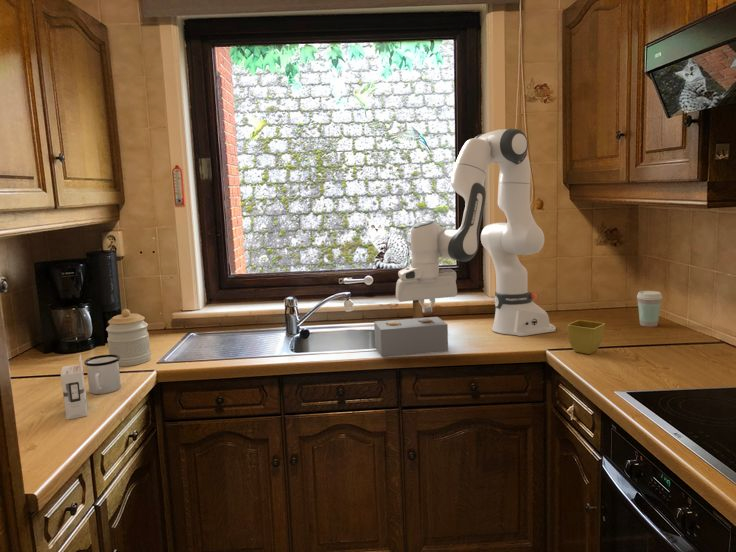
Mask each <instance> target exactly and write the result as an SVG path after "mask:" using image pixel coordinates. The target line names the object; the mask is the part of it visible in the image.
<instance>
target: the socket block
mask: <svg viewBox="0 0 736 552" xmlns="http://www.w3.org/2000/svg"><path fill="white" fill-rule="evenodd" d="M423 319H431V320H432V323H425V324H421V323H420V320H423ZM389 322H400V326H388V323H389ZM373 323H374V345H375V346H374V347H375V349H376V351H377V353H378V354H379V355H380V357H381V358H387V357H397V356H398V357H399V356H409V355H422V354H432V353H433V354H436V353H443V352H444V353H448V352H449V331H448V329H449V328H448V327H449V326H448V323H446V322H445V321H443V319H441V318H440V317H438V316H430V317H424V318H415V319H413V318H403V319H391V320H389V319H388V320H377V321H373Z"/></svg>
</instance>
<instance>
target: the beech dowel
mask: <svg viewBox="0 0 736 552" xmlns="http://www.w3.org/2000/svg"><path fill="white" fill-rule="evenodd" d="M388 326H400V322H389V323H388Z"/></svg>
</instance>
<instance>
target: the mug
mask: <svg viewBox="0 0 736 552" xmlns="http://www.w3.org/2000/svg"><path fill="white" fill-rule="evenodd" d="M119 360H120V356H118V355H109V354H102V355H101V354H100V355H96V356H92V357H89V358H87V359H85V360H84V361H83V364H84V365H85V366H86V372H87V381H88V390H89V393H91V394H93V395H105V394H110V393H113V392H116V391H117V390H120V388H121V387H122V383H121V375H120V366H119V363H118V361H119Z"/></svg>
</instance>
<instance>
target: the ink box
mask: <svg viewBox="0 0 736 552" xmlns="http://www.w3.org/2000/svg"><path fill="white" fill-rule="evenodd" d="M81 353H82V352H81ZM81 353H79V358H78V360H79V361H78V362H79V364H71V365H65V366H62V367H61V371H60V381H61V387H62V395H63V402H64V403H63V404H64V411H65V418H66V419H65V420H67V421H68V420H72V419H78V418H79V419H80V418H83V417H84V418H85V417H87V416H88V402H87V400H88V399H87V394H86V393H87V392H86V384H85V383H86V382H85V376H84V368H83V367H84V366H83V361H82V356H81V355H82V354H81Z"/></svg>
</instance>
